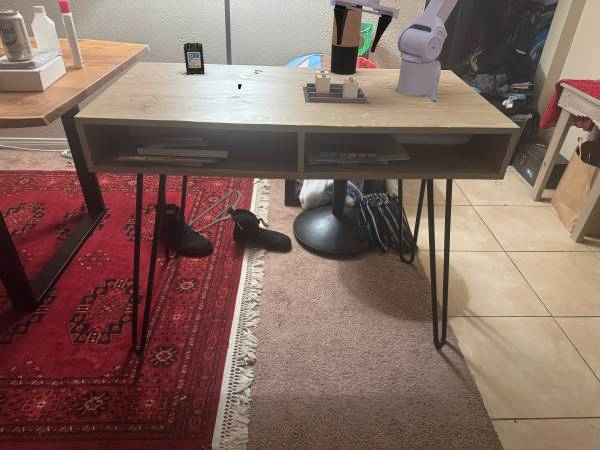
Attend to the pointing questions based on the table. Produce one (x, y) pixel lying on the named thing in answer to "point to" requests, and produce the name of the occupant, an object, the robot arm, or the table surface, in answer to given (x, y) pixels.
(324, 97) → the switch bank
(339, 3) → the robot arm
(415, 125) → the table surface
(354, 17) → the travel mug
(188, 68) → the ink cartridge
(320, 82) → the tab middle
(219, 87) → the table surface
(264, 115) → the table surface
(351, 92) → the tab
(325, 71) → the tab
